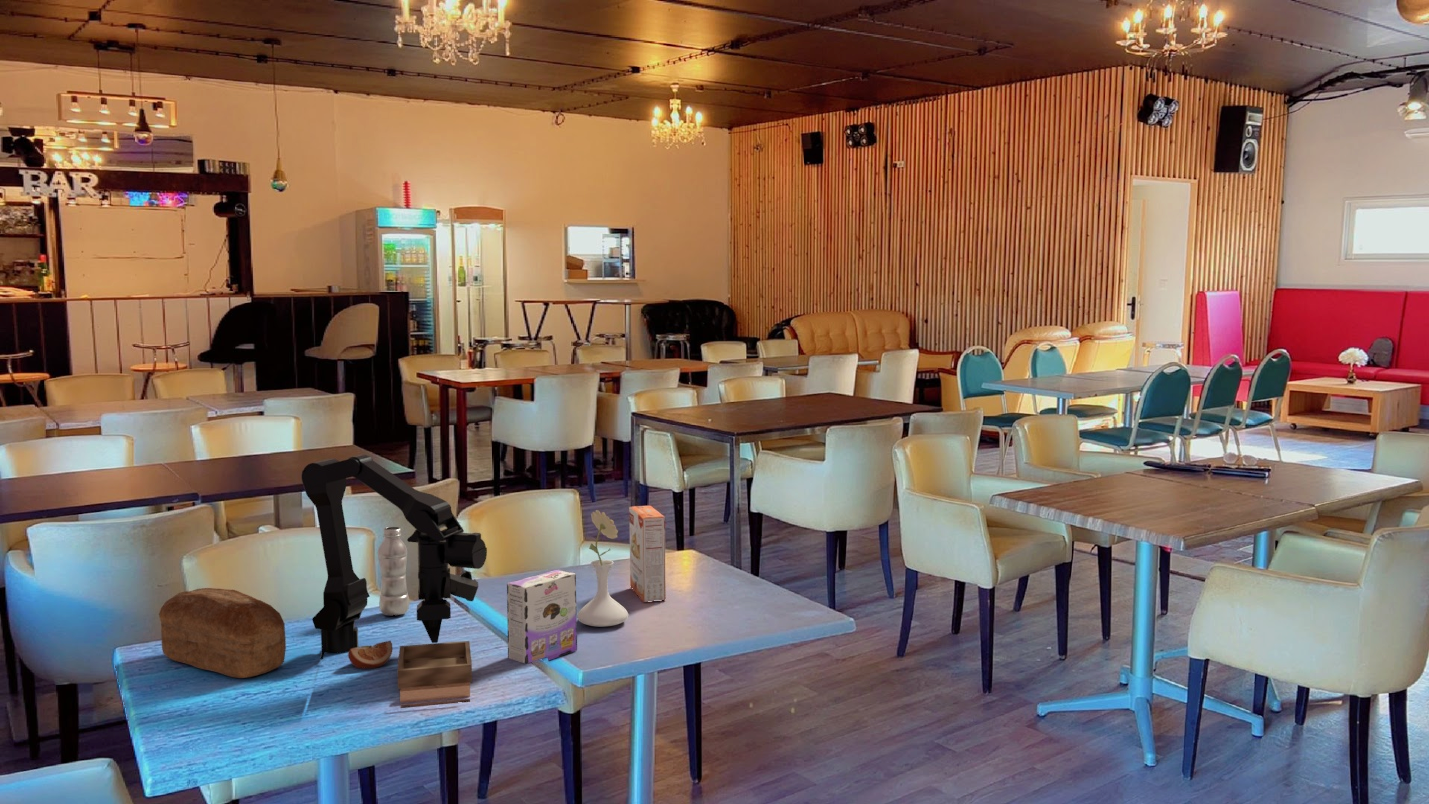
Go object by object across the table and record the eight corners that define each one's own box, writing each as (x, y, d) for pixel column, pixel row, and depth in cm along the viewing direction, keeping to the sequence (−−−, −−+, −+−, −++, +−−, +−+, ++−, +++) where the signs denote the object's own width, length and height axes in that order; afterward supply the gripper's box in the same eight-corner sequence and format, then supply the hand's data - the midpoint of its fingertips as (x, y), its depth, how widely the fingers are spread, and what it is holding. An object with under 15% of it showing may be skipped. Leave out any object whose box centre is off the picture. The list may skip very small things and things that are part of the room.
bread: (206, 643, 222) (203, 576, 220) (296, 667, 208) (294, 595, 206) (151, 660, 211) (148, 590, 210) (242, 686, 197) (239, 611, 196)
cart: (398, 692, 191) (397, 670, 190) (400, 666, 204) (399, 646, 204) (472, 686, 194) (471, 664, 193) (469, 661, 207) (469, 640, 207)
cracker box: (628, 588, 265) (628, 505, 263) (652, 586, 266) (651, 504, 264) (641, 603, 251) (641, 517, 249) (666, 601, 253) (666, 515, 251)
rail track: (399, 708, 187) (398, 691, 187) (403, 656, 214) (403, 641, 214) (471, 701, 190) (470, 685, 190) (466, 651, 217) (466, 637, 217)
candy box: (558, 645, 221) (557, 568, 220) (578, 651, 217) (577, 572, 216) (506, 662, 211) (505, 581, 209) (526, 669, 207) (525, 586, 205)
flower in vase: (635, 627, 233) (634, 515, 231) (584, 633, 229) (583, 519, 226) (618, 611, 245) (617, 504, 243) (569, 616, 241) (568, 508, 239)
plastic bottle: (401, 619, 238) (399, 532, 236) (373, 617, 240) (371, 530, 238) (415, 611, 244) (412, 526, 243) (388, 609, 246) (385, 524, 244)
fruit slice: (384, 660, 212) (384, 635, 211) (399, 668, 207) (399, 644, 206) (343, 669, 206) (343, 644, 206) (358, 678, 201) (357, 653, 201)
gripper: (477, 574, 201) (478, 654, 202) (474, 551, 219) (475, 625, 220) (415, 577, 198) (417, 659, 199) (417, 554, 216) (419, 629, 217)
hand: (434, 642), depth 209 cm, fingers closed
